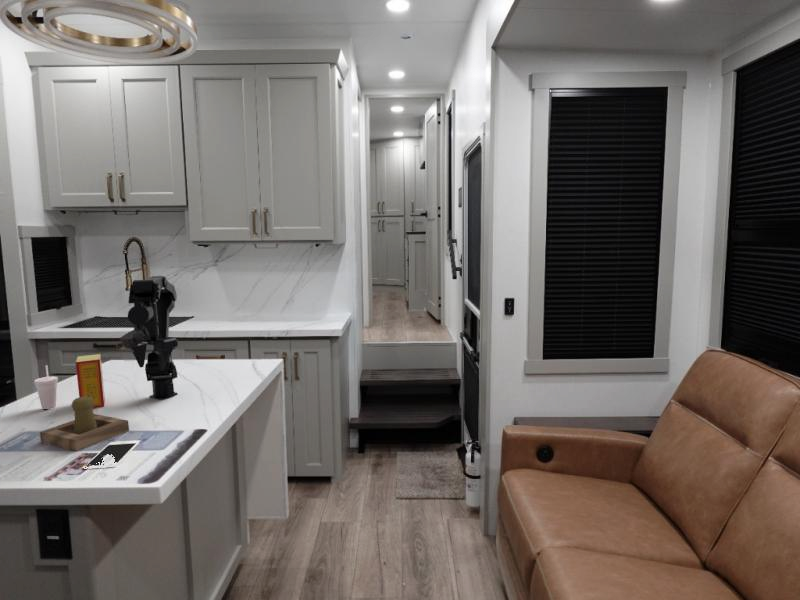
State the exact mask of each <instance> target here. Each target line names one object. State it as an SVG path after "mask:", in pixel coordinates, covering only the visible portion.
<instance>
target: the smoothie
mask: <svg viewBox="0 0 800 600" xmlns="http://www.w3.org/2000/svg"><path fill="white" fill-rule="evenodd" d="M44 366H45V373H46V376H44V377H41V378H40V377H39V378H37V379H35V380H34V381H33V382H34V383H33V384H34V385H35V386H36V390H37V394H38V398H39V401H40V405H41V409H42V410H43V409H50V410H52V409H51V408H54V407H56V408H57V399H58V398H57V397H58V394H57V391H58V381H59V377H58V376H52V375H51V376H50V375H49V367H48V364H46V365H44ZM54 409H55V408H54Z"/></svg>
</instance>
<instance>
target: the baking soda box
mask: <svg viewBox="0 0 800 600" xmlns="http://www.w3.org/2000/svg"><path fill="white" fill-rule="evenodd" d="M75 368H76V378H77V379H76V380H77V387H78V389H77V390H78V396H79V397H87V396H88V397H92V398H93V400H94V406H93V408H92V409H98V407H99V408H105V402H106V397H105V388H104V387H105V386H104V378H103V365H102V356H101V353H98V354H89V355H78V356H77V358H76V360H75ZM79 397H78V398H79Z"/></svg>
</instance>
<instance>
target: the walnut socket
mask: <svg viewBox="0 0 800 600" xmlns="http://www.w3.org/2000/svg"><path fill="white" fill-rule="evenodd" d="M94 417H95V421H96V424H97V428H96V429H94V430H91V431H88V432H85V433H83V434H80V435H78V434H74V420H75V419H72V420H70V421H67V422H65V423H62V424H58V425H55V426H52V427H51V428H47V429H43V430H40V431H39V436H40V437H39V438H40V443H41V442H42V444H45V443H46V444H45V445H49V444H50V445H49V446H53V445H54V447H57V446H58V447H57V448H61V447H62V449H65V448H66V450H69V449H70V451H73V450H74V451H73V452H79V451H81V449H82V450H84V449H87V448H88V447H91V446H94V445H97V444H100V443H102V442H104V441H107V440H109V439H112V438H115V437H117V436H119V434H120V435H122V434H125V433H127V432H130V427H129V420H127V419H123V418H122V419H121V418H116V417H113V416H112V417H111V416H108V415H107V416H106V415H102V414H97V413H94ZM116 435H117V436H116ZM114 436H115V437H114ZM111 437H112V438H111ZM106 439H107V440H106ZM101 441H102V442H101ZM86 447H87V448H86ZM83 448H84V449H83ZM78 450H79V451H78Z"/></svg>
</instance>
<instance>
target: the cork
mask: <svg viewBox="0 0 800 600" xmlns="http://www.w3.org/2000/svg"><path fill="white" fill-rule="evenodd" d="M93 406H94V400H93V398H92V397H88V396H87V397H76V398H75V399H73V400H72V402H71V408H72V410H73V411H74V419H73V420H74V434H78V435H80V434H83V433H85V432H88V431H91V430H94V429H96V428H97V424H96V421H95V417H94V414H95V413H94V410H93V409H94V408H93Z"/></svg>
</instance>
